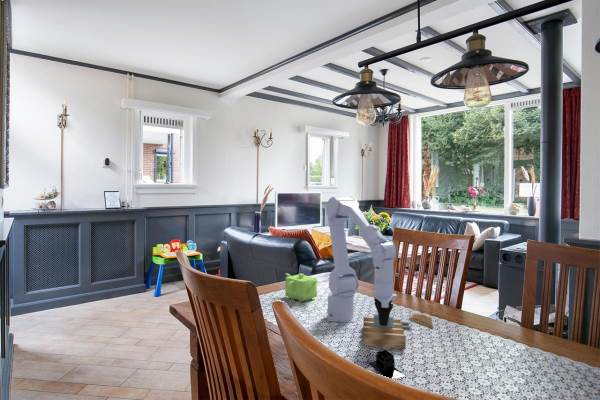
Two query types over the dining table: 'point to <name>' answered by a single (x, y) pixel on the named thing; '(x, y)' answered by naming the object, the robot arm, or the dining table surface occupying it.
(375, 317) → the plate
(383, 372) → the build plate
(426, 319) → the shard
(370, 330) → the rack
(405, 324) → the holder
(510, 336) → the dining table surface
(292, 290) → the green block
